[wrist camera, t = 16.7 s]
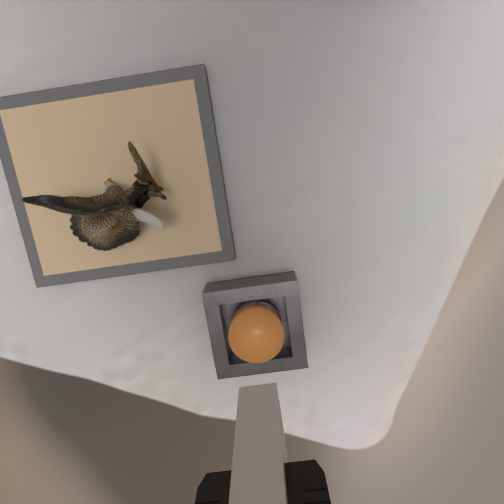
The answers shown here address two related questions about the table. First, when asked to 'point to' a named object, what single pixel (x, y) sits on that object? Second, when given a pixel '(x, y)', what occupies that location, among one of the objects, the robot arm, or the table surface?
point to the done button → (256, 332)
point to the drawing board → (118, 171)
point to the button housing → (245, 290)
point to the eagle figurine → (109, 209)
